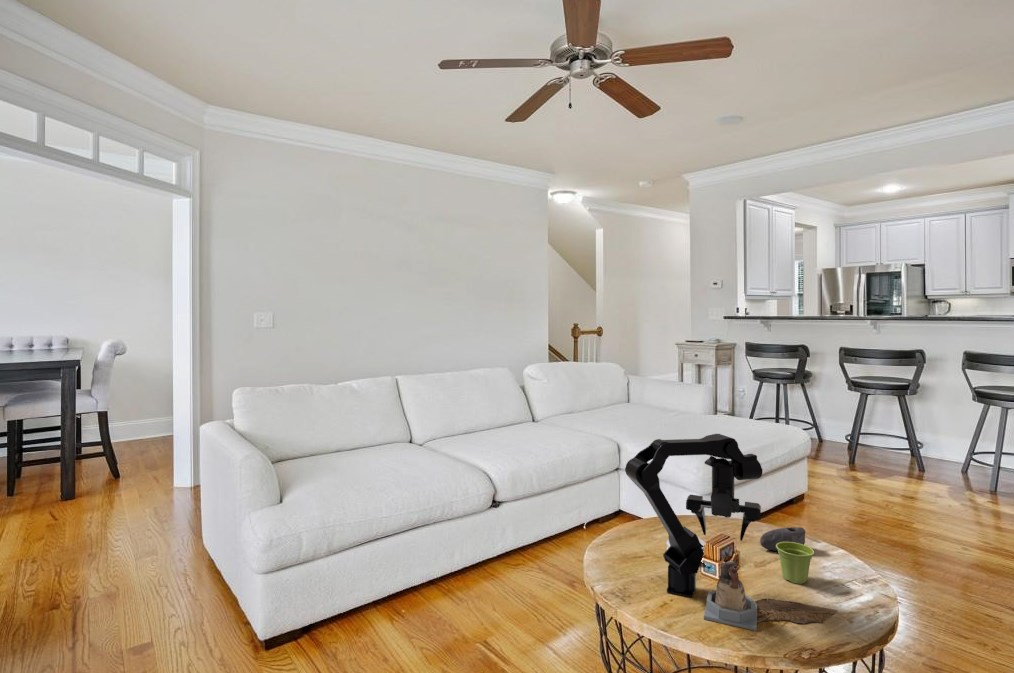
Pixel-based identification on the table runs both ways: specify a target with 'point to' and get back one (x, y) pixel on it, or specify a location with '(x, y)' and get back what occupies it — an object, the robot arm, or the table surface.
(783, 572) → the plant pot
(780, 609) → the wooden fragment
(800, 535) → the perforated stone tool
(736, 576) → the figurine
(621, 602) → the table surface
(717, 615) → the tray
